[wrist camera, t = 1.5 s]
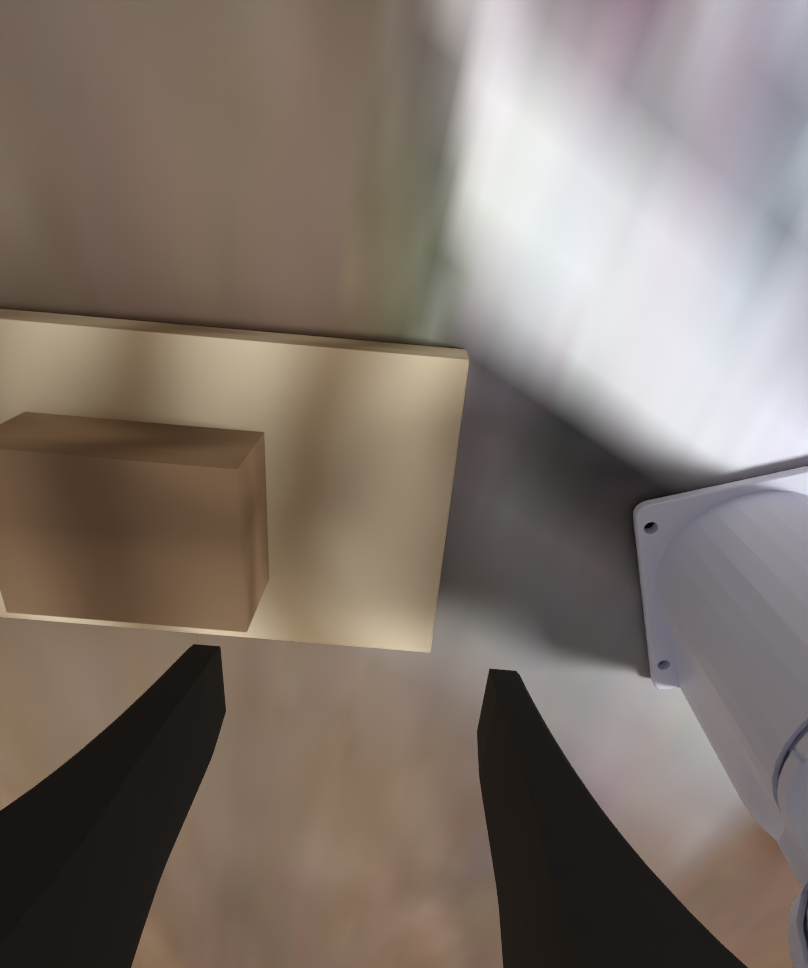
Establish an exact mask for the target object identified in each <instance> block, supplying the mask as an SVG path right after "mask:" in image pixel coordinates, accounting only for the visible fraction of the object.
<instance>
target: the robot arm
mask: <svg viewBox="0 0 808 968" xmlns="http://www.w3.org/2000/svg"><path fill="white" fill-rule="evenodd" d="M633 520H634V529H635V539H636V548H637V557H638V566H639V575H640V584H641V593H642V602H643V611H644V620H645V630H646V639H647V648H648V657H649V666H650V675H651V680H652V682H653V684H654V686H655V687H656V688H658V689H662V690H663V689H672V688H678V687H680V688H681V690H682V692H683V694H684V695H685V697H686V699H687V701H688V703H689V705H690V706H691V708H692V710H693V712H694V714H695V716H696V717H697V719H698V721H699V723H700V725H701V727H702V728H703V730H704V732H705V734H706V736H707V738H708V739H709V741H710V743H711V745H712V747H713V749H714V751H715V752H716V754H717V756H718V758H719V760H720V762H721V763H722V765H723V767H724V769H725V771H726V773H727V774H728V776H729V778H730V780H731V782H732V784H733V785H734V787H735V789H736V791H737V793H738V795H739V796H740V798H741V800H742V802H743V803H744V805H745V806H746V808H747V809H748V811H749V812H750V814H751V815H752V816H753V818H754V819H755V820H756V821H757V822H758V824H759V825H760V826H761V827H762V828H763V829H764V830H765V831H766V832H767V833H768V834H769V835H771V836H772V837H773V838H774V839H775V840H777V841H778V843H777V844H778V846H779V848H780V849H781V851H782V853H783V855H784V856H785V858H786V860H787V862H788V864H789V865H790V867H791V869H792V871H793V872H794V874H795V876H796V878H797V880H798V881H799V883H800V885H801V887H802V888H803V889H802V890H801V892H800V893H799V894H798V895H797V897H796V898H795V899H794V902H793V905H792V907H791V910H790V913H789V919H788V930H787V935H788V944H789V953H790V957H791V961H792V965H793V968H808V466H804V467H800V468H795V469H791V470H786V471H781V472H777V473H772V474H767V475H763V476H758V477H754V478H749V479H744V480H740V481H735V482H730V483H726V484H721V485H717V486H712V487H707V488H703V489H698V490H693V491H689V492H684V493H679V494H675V495H670V496H666V497H661V498H656V499H652V500H647V501H644V502H641V503H639V504H638V505H637V506H636V507H635V509H634V511H633ZM649 522H654V525H653V526H652V527H650V528H648V529H644V526H645V525H646V524H647V523H649ZM664 660H665V661H664ZM661 661H664V662H662V663H660V662H661ZM225 712H226V706H225V695H224V683H223V672H222V660H221V649H220V646H208V645H196V644H194V645H192V646H191V647H190V648H189V649H188V650H187V651H186V652H185V653H184V654H183V655H182V656H181V657H180V658H179V659H178V660H177V661H176V662H175V663H174V664H173V665H172V666H171V667H170V668H169V669H168V670H167V671H166V672H165V673H164V674H163V675H162V676H161V677H160V678H159V679H158V680H157V681H156V682H155V683H154V684H153V685H152V686H151V687H150V688H149V689H148V690H147V691H146V692H145V693H144V694H143V695H142V696H141V697H139V698H138V699H137V700H136V701H135V702H134V703H133V704H132V705H131V706H130V707H129V708H128V709H127V710H126V711H125V712H124V713H123V714H121V715H120V716H119V717H118V718H117V719H116V720H115V721H114V722H113V723H112V724H110V725H109V726H108V727H107V728H106V729H105V730H104V731H102V732H101V733H100V734H99V735H98V736H97V737H95V738H94V739H93V740H92V741H91V742H90V743H89V744H87V745H86V746H85V747H84V748H83V749H82V750H80V751H79V752H78V753H77V754H76V755H74V756H73V757H72V758H71V759H69V760H68V761H67V762H66V763H64V764H63V765H62V766H61V767H59V768H58V769H57V770H56V771H54V772H53V773H52V774H50V775H49V776H48V777H46V778H45V779H44V780H43V781H41V782H40V783H39V784H37V785H36V786H35V787H33V788H32V789H31V790H29V791H28V792H26V793H25V794H24V795H22V796H21V797H19V798H18V799H16V800H15V801H14V802H12V803H11V804H9V805H8V806H7V807H5V808H4V809H2V810H1V811H0V968H131V966H132V963H133V959H134V956H135V953H136V950H137V947H138V944H139V941H140V937H141V934H142V931H143V928H144V925H145V922H146V919H147V916H148V913H149V910H150V907H151V904H152V901H153V898H154V895H155V892H156V889H157V886H158V884H159V881H160V878H161V876H162V873H163V871H164V868H165V865H166V863H167V860H168V858H169V855H170V853H171V851H172V849H173V846H174V844H175V842H176V839H177V837H178V835H179V832H180V830H181V828H182V825H183V823H184V821H185V818H186V816H187V814H188V812H189V809H190V807H191V805H192V802H193V800H194V798H195V795H196V793H197V791H198V788H199V786H200V784H201V781H202V779H203V777H204V774H205V772H206V770H207V767H208V765H209V762H210V760H211V758H212V755H213V752H214V749H215V746H216V742H217V739H218V736H219V733H220V729H221V726H222V722H223V719H224V716H225ZM477 740H478V761H479V778H480V785H481V791H482V798H483V804H484V811H485V817H486V823H487V830H488V836H489V842H490V849H491V855H492V861H493V868H494V874H495V880H496V887H497V896H498V904H499V914H500V928H501V941H502V955H503V968H748V967H746V966H745V965H744V964H743V963H742V962H741V961H740V960H739V959H738V958H737V957H735V956H734V955H733V954H732V953H731V952H730V951H729V950H728V949H727V948H726V947H724V946H723V945H722V944H721V943H720V942H719V941H718V940H717V939H716V938H715V937H714V936H713V935H712V934H711V933H710V932H709V931H708V930H707V929H706V928H705V927H704V926H703V925H702V924H701V923H700V922H699V921H698V920H697V919H696V918H695V917H694V916H693V915H692V914H691V913H690V912H689V911H688V910H687V908H686V907H685V906H684V905H683V904H682V903H681V902H680V901H679V900H678V899H677V898H676V897H675V895H674V894H673V893H672V892H671V891H670V890H669V889H668V888H667V887H666V886H665V885H664V883H663V882H662V881H661V880H660V879H659V878H658V877H657V876H656V875H655V874H654V873H653V871H652V870H651V869H650V868H649V867H648V866H647V865H646V864H645V863H644V861H643V860H642V859H641V858H640V857H639V855H638V854H637V853H636V852H635V851H634V849H633V848H632V847H631V846H630V845H629V843H628V842H627V841H626V840H625V839H624V837H623V836H622V835H621V833H620V832H619V831H618V830H617V828H616V827H615V826H614V825H613V823H612V822H611V821H610V820H609V818H608V817H607V816H606V814H605V813H604V812H603V810H602V809H601V808H600V806H599V805H598V803H597V802H596V801H595V799H594V798H593V797H592V795H591V794H590V792H589V791H588V789H587V788H586V787H585V785H584V784H583V782H582V781H581V779H580V778H579V776H578V775H577V773H576V772H575V770H574V769H573V767H572V766H571V764H570V763H569V761H568V760H567V758H566V757H565V755H564V753H563V752H562V750H561V748H560V747H559V745H558V744H557V742H556V740H555V739H554V737H553V736H552V734H551V732H550V730H549V729H548V727H547V725H546V724H545V722H544V720H543V718H542V717H541V715H540V713H539V711H538V709H537V708H536V706H535V704H534V702H533V700H532V698H531V696H530V695H529V693H528V691H527V689H526V687H525V685H524V683H523V681H522V679H521V677H520V675H519V674H518V673H517V672H516V671H510V670H498V669H489V674H488V679H487V684H486V689H485V694H484V699H483V704H482V709H481V714H480V719H479V724H478V730H477Z"/></svg>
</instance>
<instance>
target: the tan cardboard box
mask: <svg viewBox="0 0 808 968" xmlns="http://www.w3.org/2000/svg"><path fill="white" fill-rule="evenodd" d="M268 581H269V557H268V527H267V497H266V466H265V436H264V432H255V431H243V430H232V429H220V428H208V427H197V426H185V425H174V424H162V423H150V422H139V421H127V420H115V419H104V418H92V417H81V416H69V415H57V414H46V413H34V412H23V413H21V414H19V415H17V416H15V417H13V418H11V419H9V420H7V421H5V422H3V423H1V424H0V592H1V595H2V598H3V602H4V605H5V608H6V612H8V613H20V614H32V615H44V616H56V617H68V618H80V619H92V620H104V621H116V622H128V623H140V624H152V625H164V626H176V627H188V628H200V629H213V630H225V631H237V632H247V631H248V628H249V626H250V624H251V621H252V619H253V617H254V614H255V612H256V609H257V607H258V605H259V602H260V600H261V597H262V595H263V593H264V590H265V588H266V586H267V583H268Z"/></svg>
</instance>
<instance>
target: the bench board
mask: <svg viewBox="0 0 808 968" xmlns="http://www.w3.org/2000/svg"><path fill="white" fill-rule="evenodd" d="M468 366H469V357H468V354H467V351H466V349H456V348H444V347H433V346H422V345H410V344H399V343H387V342H376V341H364V340H353V339H342V338H330V337H319V336H307V335H296V334H285V333H273V332H262V331H250V330H239V329H227V328H216V327H205V326H193V325H182V324H170V323H159V322H148V321H136V320H125V319H113V318H102V317H90V316H79V315H68V314H56V313H45V312H33V311H22V310H10V309H0V424H1V423H3V422H5V421H7V420H9V419H11V418H13V417H15V416H17V415H19V414H21V413H23V412H34V413H46V414H57V415H69V416H81V417H92V418H104V419H115V420H127V421H139V422H150V423H162V424H174V425H185V426H197V427H208V428H220V429H232V430H243V431H255V432H264V436H265V466H266V497H267V527H268V557H269V581H268V583H267V586H266V588H265V590H264V593H263V595H262V597H261V600H260V602H259V605H258V607H257V609H256V612H255V614H254V617H253V619H252V621H251V624H250V626H249V628H248V631H247V632H237V631H225V630H213V629H200V628H188V627H176V626H164V625H152V624H140V623H128V622H116V621H104V620H92V619H80V618H68V617H56V616H44V615H32V614H20V613H8V612H6V608H5V605H4V602H3V598H2V595H1V592H0V617H8V618H20V619H32V620H44V621H56V622H69V623H81V624H93V625H105V626H117V627H129V628H141V629H153V630H165V631H177V632H189V633H201V634H213V635H225V636H237V637H250V638H262V639H274V640H286V641H298V642H310V643H322V644H334V645H346V646H358V647H370V648H382V649H394V650H406V651H418V652H431V644H432V637H433V629H434V622H435V614H436V607H437V599H438V592H439V584H440V577H441V569H442V562H443V554H444V547H445V539H446V532H447V524H448V517H449V509H450V502H451V494H452V487H453V479H454V472H455V464H456V456H457V449H458V441H459V434H460V426H461V419H462V411H463V404H464V396H465V389H466V381H467V374H468Z"/></svg>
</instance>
